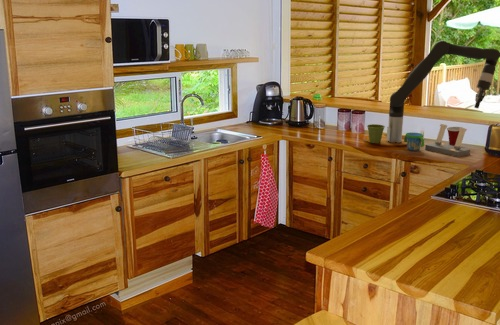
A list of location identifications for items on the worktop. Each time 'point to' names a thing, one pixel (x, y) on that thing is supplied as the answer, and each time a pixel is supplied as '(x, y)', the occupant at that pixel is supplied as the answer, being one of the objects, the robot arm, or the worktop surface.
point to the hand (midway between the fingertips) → (476, 107)
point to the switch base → (447, 149)
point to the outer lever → (460, 138)
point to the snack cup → (414, 141)
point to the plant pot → (375, 132)
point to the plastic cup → (453, 134)
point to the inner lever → (441, 134)
